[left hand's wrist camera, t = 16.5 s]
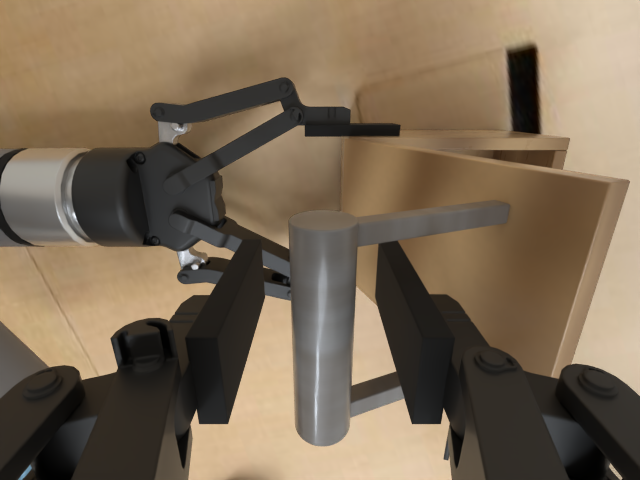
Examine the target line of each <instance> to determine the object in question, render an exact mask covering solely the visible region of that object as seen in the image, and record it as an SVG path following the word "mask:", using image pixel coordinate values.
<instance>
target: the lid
mask: <svg viewBox="0 0 640 480" xmlns="http://www.w3.org/2000/svg"><path fill="white" fill-rule="evenodd" d="M629 183H630V181H629V180H625V179H618V178H612V177H605V176H599V175H592V174H586V173H579V172H573V171H566V170H560V169H553V168H547V167H541V166H534V165H528V164H521V163H515V162H508V161H502V160H495V159H489V158H482V157H476V156H469V155H463V154H456V153H450V152H443V151H437V150H430V149H424V148H418V147H411V146H405V145H398V144H392V143H385V142H379V141H372V140H366V139H359V138H345V142H344V180H343V212H341V211H333V210H313V211H306V212H301V213H298V214H295V215H293V216H292V217H290V219H289V252H290V283H291V314H292V345H293V376H294V407H295V427H296V430H297V432H298V434H299V435H300V437H301V438H302V439H303V440H305V441H306V442H308V443H310V444H312V445H315V446H330V445H333V444H336V443H338V442H339V441H341V440H342V439H343V438H344V437H345V435H346V434H347V432H348V430H349V427H350V418H351V417H353V416H356V415H359V414H362V413H365V412H367V411H370V410H373V409H376V408H379V407H381V406H384V405H387V404H390V403H393V402H395V401H398V400H401V399H404V395H403V391H402V388H401V385H400V381H399V378H398V374H397V371H396V372H393V373H390V374H387V375H384V376H381V377H378V378H375V379H371V380H368V381H365V382H362V383H359V384H356V385H353V386H352V364H353V341H354V318H355V295H356V286H357V287H358V288H359V289H360V290H361V291H362V292H363V293H364V294H365V295H366V296H367V297H369V298H370V299H371V300H372V301H373V302H374V303H375V304H376V305H377V302H376V299H375V288H376V272H377V257H378V244H379V243H386V242H392V241H398V242H399V244H400V245H401V247H402V249H403V250H404V252H405V254H406V255H407V257H408V259H409V261H410V262H411V264H412V266H413V267H414V269H415V271H416V272H417V274H418V276H419V277H420V279H421V281H422V283H423V284H424V286H425V288H426V289H427V291H428V293H429V294H447V295H449V296H450V297H451V298H453V299H454V300H456V301H457V302H459V304H460V305H461V306H462V308H463V309H464V311H465V314H467V315H468V316H469V318H470V319H471V322H473V323H474V325H475V326H476V327H477V329H478V330H479V332H480V333H481V334H482V336H483V337H484V338H485V340H486V341H487V343H488V344H489V345H490V347H494V348H498V349H500V350H502V351H504V352H506V353H508V354H509V355H511V356H512V357H513V358H515V359H516V360H517V361H518V363H519V364H520V365H521V367H522V369H523V371H527V372H530V373H534V374H539V375H544V376H548V377H553V378H558V379H559V376H560V373H561V370H562V369H563V368H564V367H565V366H566V365H571V363H572V360H573V357H574V353H575V350H576V347H577V344H578V341H579V338H580V335H581V332H582V329H583V326H584V322H585V319H586V316H587V313H588V310H589V307H590V304H591V301H592V298H593V295H594V292H595V288H596V285H597V282H598V279H599V276H600V273H601V270H602V267H603V264H604V261H605V258H606V254H607V251H608V248H609V245H610V242H611V239H612V236H613V233H614V230H615V227H616V223H617V220H618V217H619V214H620V211H621V208H622V205H623V202H624V199H625V196H626V193H627V189H628V186H629Z"/></svg>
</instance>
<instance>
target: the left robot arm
mask: <svg viewBox="0 0 640 480" xmlns="http://www.w3.org/2000/svg"><path fill="white" fill-rule="evenodd" d="M264 299H265V288H264V272H263V257H262V242H261V239H243V240H242V242H241V244H240V245H239V247H238V249H237V250H236V252H235V254H234V255H233V257H232V259H231V261H230V262H229V264H228V266H227V267H226V269H225V271H224V272H223V274H222V276H221V277H220V279H219V281H218V283H217V284H216V286H215V288H214V289H213V291H212V293H211V294H210V295H193V296H192V297H190V298H189V299H187V300H186V301H184V302H183V303H182V304H181V305H180V306H179V308H178V309H177V311H176V312H175V315H173V316H172V318H171V319H170V320H169V321H168V320H165V319H161V318H148V319H143V320H138V321H135V322H133V323H130V324H128V325H125V326H124V327H122V328H121V329H119V330H118V331H116V333H115V334H114V335H113V336H112V337H111V342H112V346H113V350H114V354H115V358H116V362H117V365H118V369H117V372H115V373H111V374H108V375H103V376H99V377H94V378H89V379H85V380H82V379H81V376H80V373H79V371H78V370H77V369H76V368H75V367H72V366H65V365H63V366H55V367H50V368H46V369H43V370H40V371H38V372H36V373H34V374H32V375H30V376H28V377H26V378H24V379H23V380H22V381H20V382H19V383H17V384H16V385H15V386H13V387H12V388H11V389H10V390H9V391H8V392H7V393H6V394H5V395H4V396H2V397H1V398H0V480H18V479H19V478H20V477H21V475H22V474H23V473H24V472H25V470H26V469H27V468H28V467H29V465H31V468H32V469H31V470H30V471H29V473H28V474H27V475H26V476H25V477H24V478H23V479H22V480H188V476H189V466H190V457H191V448H192V431H191V425H190V424H191V421H192V419H193V416H194V414H195V411H196V409H197V413H198V419H199V424H228V422H229V419H230V415H231V412H232V409H233V405H234V402H235V398H236V395H237V391H238V388H239V385H240V381H241V378H242V374H243V371H244V367H245V364H246V361H247V357H248V354H249V350H250V347H251V344H252V340H253V337H254V333H255V330H256V326H257V323H258V320H259V316H260V313H261V309H262V306H263V302H264ZM375 299H376V302H377V306H378V309H379V313H380V316H381V320H382V323H383V326H384V330H385V333H386V337H387V340H388V344H389V347H390V350H391V354H392V357H393V361H394V364H395V367H396V371H397V374H398V378H399V381H400V385H401V388H402V391H403V395H404V398H405V402H406V405H407V409H408V412H409V415H410V419H411V422H412V424H441V419H442V413H443V407H444V410H445V412H446V414H447V417H448V419H449V422H450V425H449V431H448V436H447V442H446V448H445V453H444V460H448V459H449V456H450V466H451V475H452V480H620V479H619V478H618V477H617V476H616V475H615V474H614V473H613V472H612V471H611V469H610V468H609V465H610V463H611V464H612V465H613V467H614V468H615V469H616V470H617V472H618V473H619V474H620V475H621V476H622V478H623V479H622V480H640V396H639V395H638V394H637V393H636V392H635V391H633V390H632V389H631V388H630V387H629V386H628V385H627V384H625V383H624V382H623V381H621V380H620V379H618V378H617V377H616V376H614V375H612V374H610V373H608V372H606V371H604V370H602V369H599V368H595V367H592V366H589V365H581V364H572V365H566V366H565V367H564V368H563V369H562V370H561V373H560V376H559V379H558V378H553V377H548V376H544V375H539V374H534V373H530V372H527V371H523V369H522V367H521V365H520V364H519V363H518V361H517V360H516V359H515V358H513V357H512V356H511V355H509V354H508V353H506V352H504V351H502V350H500V349H498V348H494V347H490V345H489V344H488V343H487V341H486V340H485V338H484V337H483V336H482V334H481V333H480V332H479V330H478V329H477V327H476V326H475V325H474V323H473V322H471V319H470V318H469V316H468V315H467V314H465V311H464V309H463V308H462V306H461V305H460V304H459V302H457V301H456V300H454V299H453V298H451V297H450V296H449V295H447V294H429V293H428V291H427V289H426V288H425V286H424V284H423V283H422V281H421V279H420V277H419V276H418V274H417V272H416V271H415V269H414V267H413V266H412V264H411V262H410V261H409V259H408V257H407V255H406V254H405V252H404V250H403V249H402V247H401V245H400V244H399V242H398V241H392V242H386V243H379V244H378V257H377V272H376V288H375Z"/></svg>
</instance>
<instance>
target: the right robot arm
mask: <svg viewBox="0 0 640 480" xmlns="http://www.w3.org/2000/svg"><path fill="white" fill-rule="evenodd" d="M277 101H281V104H282V106H283V109H284V112H283V113H281V114H279V115H277V116H276V117H274V118H272V119H270V120H269V121H267V122H265V123H264V124H262V125H260V126H258V127H257V128H255V129H253V130H251V131H250V132H248V133H246V134H245V135H243V136H241V137H239V138H238V139H236V140H234V141H232V142H231V143H229V144H227V145H226V146H224V147H222V148H220V149H219V150H217V151H215V152H213V153H211V154H209V155H208V156H206V157H204V158H200V157H199V156H197V155H196V154H194V153H193V152H191V151H190V150H188V149H187V148H186V147H184V146H183V145H181V144H180V143H178V138H179V137H180V135H182V134H186V133H189V132H190V131H191V129H192V123H197V122H204V121H209V120H212V119H216V118H220V117H223V116H227V115H230V114H234V113H238V112H241V111H245V110H249V109H252V108H256V107H259V106H263V105H267V104H270V103H274V102H277ZM150 112H151V116H152V117H153V118H154V119H155V120H156V121H158V130H159V143H157V144H155V145H153V146H152V147H150V148H95V149H92V150H91V149H88V148H24V149H0V247H22V246H42V247H44V246H63V247H94V246H98V245H101V246H106V247H147V246H164V247H167V248H169V249H171V250H173V251H177V255H178V258H179V262H180V266H181V271H180V272H179V273H178V275H177V278H178V280H179V281H180V282H181V283H183V284H192V283H203V282H208V283H213V284H217V283H218V281H219V279H220V277H221V276H222V274H223V272H224V271H225V269H226V267H227V266H228V264H229V262H230V261H231V260H228V259H224V258H218V257H208V256H207V254H206V253H204V252H197V251H196V250H194V248H193V245H195V244H196V243H197V242H199V241H200V240H203V241H205V242H208V243H210V244H212V245H214V246H216V247H220V248H221V247H225V248H227V249H230V250H232V251H234V252H236V250H237V249H238V247H239V245H240V244H241V242H242V240H243V239H261V242H262V257H263V265H264V266H266V267H268V268H270V269H268V268H263V272H264V288H265V295H267V296H272V297H276V298H281V299H285V300H291V283H290V252H289V249H287V248H285V247H283V246H281V245H279V244H277V243H275V242H273V241H271V240H269V239H266V238H264V237H262V236H260V235H258V234H256V233H254V232H252V231H250V230H248V229H246V228H244V227H242V226H240V225H238V224H237V223H236V222H235V221H234V220H232V219H230V218H228V217H226V216H224V215H225V214H226V210H225V203H224V201H223V198H222V195H221V194H222V188H223V181H222V176H220V175H219V173H218V170H220V169H222V168H223V167H225V166H227V165H229V164H230V163H232V162H234V161H236V160H237V159H239V158H241V157H243V156H244V155H246V154H248V153H250V152H252V151H253V150H255V149H257V148H259V147H260V146H262V145H264V144H266V143H267V142H269V141H271V140H273V139H274V138H276V137H278V136H280V135H282V134H283V133H285V132H287V131H289V130H290V129H292V128H294V127H296V126H297V125H305V137H307V136H400V125H398V124H393V123H350V109H347V108H345V107H307V106H305V105H303V104H302V103H301V101H300V99H299V96H298V94H297V91H296V88H295V85H294V84H293V82H292V81H291V80H289V79H288V78H279V79H276V80H272V81H268V82H265V83H261V84H258V85H254V86H251V87H247V88H244V89H240V90H237V91H233V92H230V93H226V94H222V95H219V96H215V97H212V98H208V99H205V100H201V101H198V102H194V103H191V104H187V105H184V104H175V103H155V104H153V105H152V106H151V109H150ZM46 368H49V367H48V366H47V365H46V364H45V363H44V362H43V361H42V360H41V359H40V358H39V357H38V356H37V355H36V354H35V353H34V352H32V351H31V350H30V349H29V348H28V347H27V346H26V345H25V344H24V343H23V342H22V341H21V340H20V339H19V338H18V337H17V336H15V335H14V334H13V333H12V332H11V331H10V330H9V329H8V328H7V327H6V326H5V325H4V324H3V323H2V322H1V321H0V398H1V397H2V396H4V395H5V394H6V393H7V392H8V391H9V390H10V389H11V388H12V387H13V386H15V385H16V384H17V383H19V382H20V381H22V380H23V379H24V378H26V377H28V376H30V375H32V374H34V373H36V372H38V371H40V370H43V369H46ZM31 469H32V468H31V465H29V467H28V468H27V469H26V470H25V472H24V473H23V474H22V475H21V477H20V478H19V479H18V480H22V479H23V478H24V477H25V476H26V475H27V474H28V473H29V471H30V470H31Z"/></svg>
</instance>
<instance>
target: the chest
mask: <svg viewBox="0 0 640 480" xmlns="http://www.w3.org/2000/svg"><path fill="white" fill-rule="evenodd" d="M345 138H359V139H366V140H372V141H379V142H385V143H392V144H398V145H405V146H411V147H418V148H424V149H430V150H437V151H443V152H450V153H456V154H463V155H469V156H476V157H482V158H489V159H495V160H502V161H508V162H515V163H521V164H528V165H534V166H541V167H547V168H553V169H560V170H562V169H563V165H564V161H565V157H566V153H567V151H566V150H567V149H568V145H569V141H570V138H566V137H557V136H549V135H540V134H531V133H523V132H514V131H505V130H400V136H342V144H341V187H340V211H341V212H343V180H344V142H345Z"/></svg>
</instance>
